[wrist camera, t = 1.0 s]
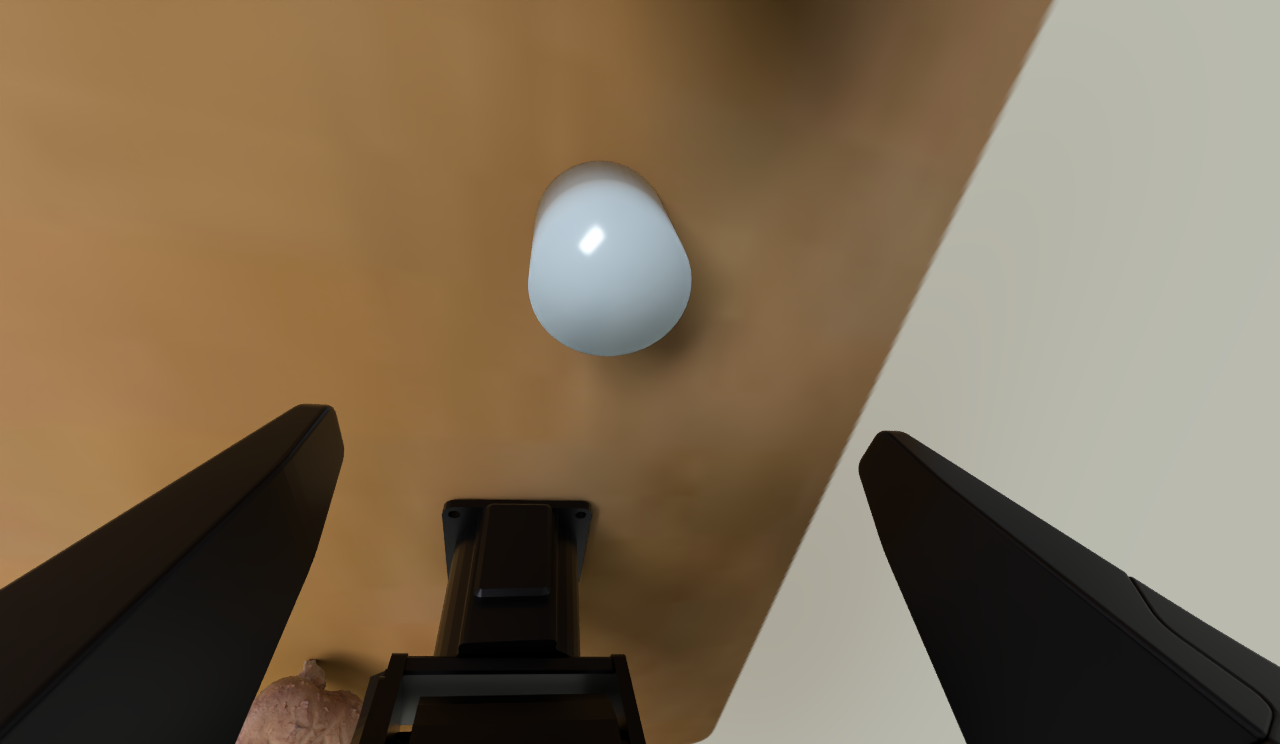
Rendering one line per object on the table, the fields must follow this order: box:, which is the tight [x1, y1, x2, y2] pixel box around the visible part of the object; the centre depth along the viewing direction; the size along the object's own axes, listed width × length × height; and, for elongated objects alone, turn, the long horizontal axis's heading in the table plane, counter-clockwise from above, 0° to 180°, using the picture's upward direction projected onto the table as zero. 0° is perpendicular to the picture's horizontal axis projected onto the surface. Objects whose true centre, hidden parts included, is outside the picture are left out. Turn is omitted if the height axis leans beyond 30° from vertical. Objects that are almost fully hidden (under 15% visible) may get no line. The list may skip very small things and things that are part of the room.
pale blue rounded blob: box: [528, 161, 692, 356], centre depth 14 cm, size 4×4×4 cm
